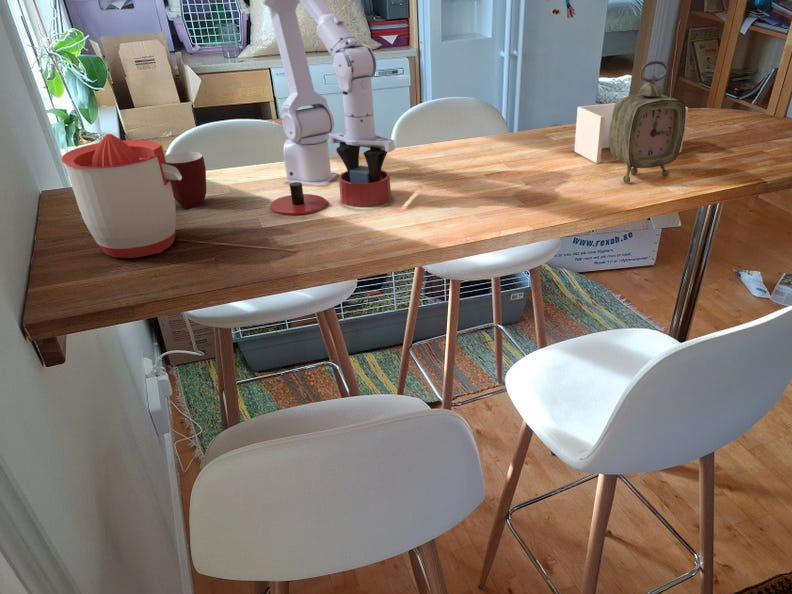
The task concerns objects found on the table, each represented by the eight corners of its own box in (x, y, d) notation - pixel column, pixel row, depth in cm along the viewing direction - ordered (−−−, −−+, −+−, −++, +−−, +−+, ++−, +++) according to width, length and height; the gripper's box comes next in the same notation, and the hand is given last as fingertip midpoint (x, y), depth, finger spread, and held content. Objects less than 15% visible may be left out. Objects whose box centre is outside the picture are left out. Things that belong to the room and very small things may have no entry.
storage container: (656, 141, 185) (662, 98, 179) (681, 152, 176) (688, 107, 170) (574, 151, 177) (577, 106, 171) (596, 163, 168) (600, 116, 162)
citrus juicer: (194, 258, 120) (166, 141, 109) (84, 269, 116) (44, 150, 105) (198, 225, 133) (173, 118, 122) (99, 235, 129) (65, 125, 118)
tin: (333, 207, 141) (330, 182, 138) (351, 191, 150) (349, 166, 147) (382, 211, 140) (380, 185, 137) (397, 194, 148) (396, 169, 145)
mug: (159, 216, 137) (146, 166, 131) (157, 203, 143) (145, 155, 137) (215, 209, 140) (204, 160, 135) (211, 197, 146) (200, 149, 141)
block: (351, 189, 143) (349, 170, 140) (362, 184, 146) (360, 165, 144) (368, 192, 141) (367, 173, 139) (379, 187, 144) (378, 168, 142)
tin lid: (261, 215, 137) (256, 191, 135) (285, 197, 147) (281, 173, 144) (313, 220, 135) (310, 195, 133) (335, 201, 145) (332, 177, 142)
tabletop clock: (623, 186, 154) (638, 66, 140) (601, 174, 160) (613, 59, 147) (676, 178, 159) (695, 61, 145) (652, 167, 166) (668, 55, 152)
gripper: (316, 114, 135) (324, 182, 142) (378, 122, 130) (383, 192, 137) (338, 106, 140) (344, 172, 148) (398, 114, 135) (402, 182, 142)
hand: (364, 181), depth 143 cm, fingers closed on block, 4 cm apart
